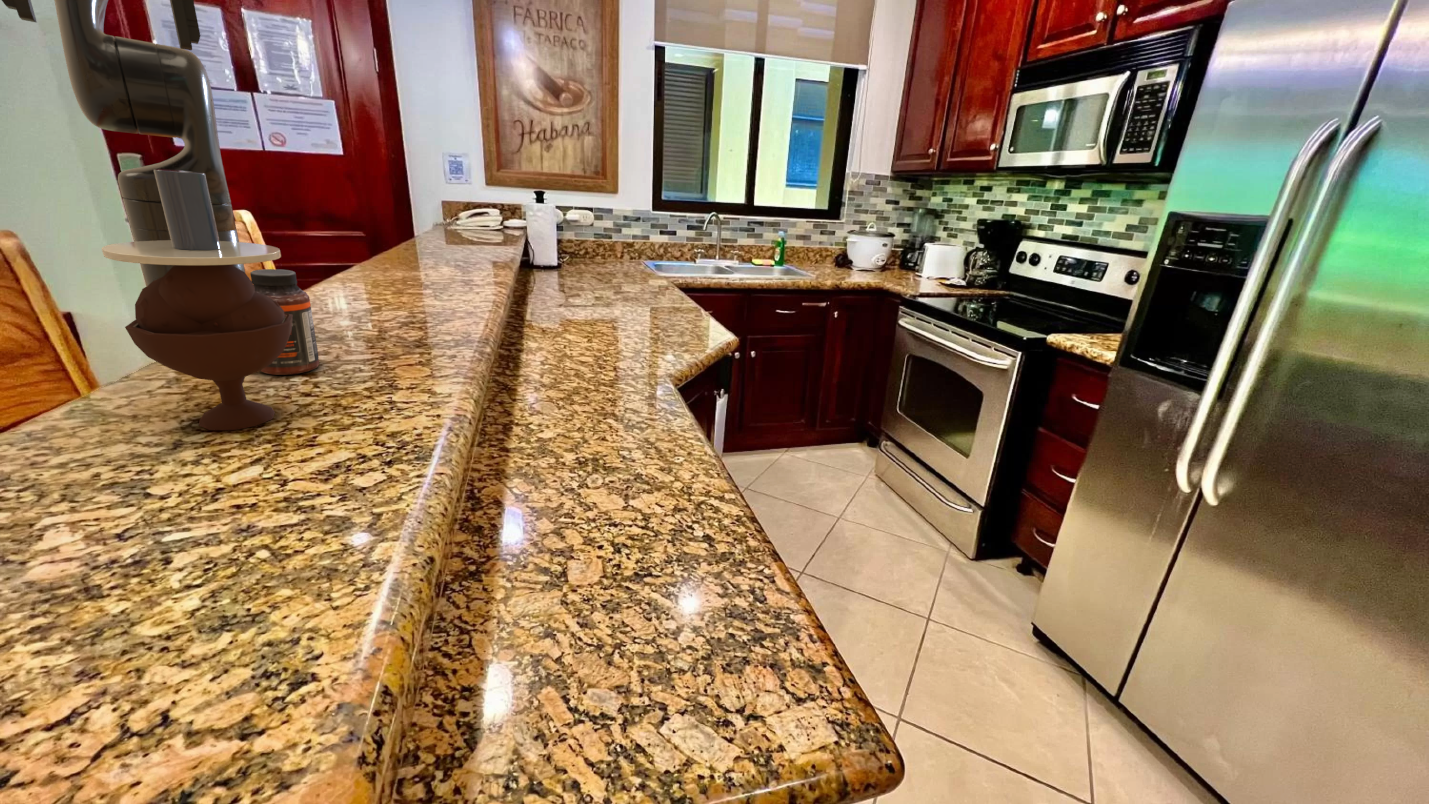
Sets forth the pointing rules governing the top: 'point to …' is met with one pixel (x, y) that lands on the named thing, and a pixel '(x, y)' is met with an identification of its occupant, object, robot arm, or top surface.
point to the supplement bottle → (302, 338)
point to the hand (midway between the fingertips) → (112, 35)
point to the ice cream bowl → (212, 335)
